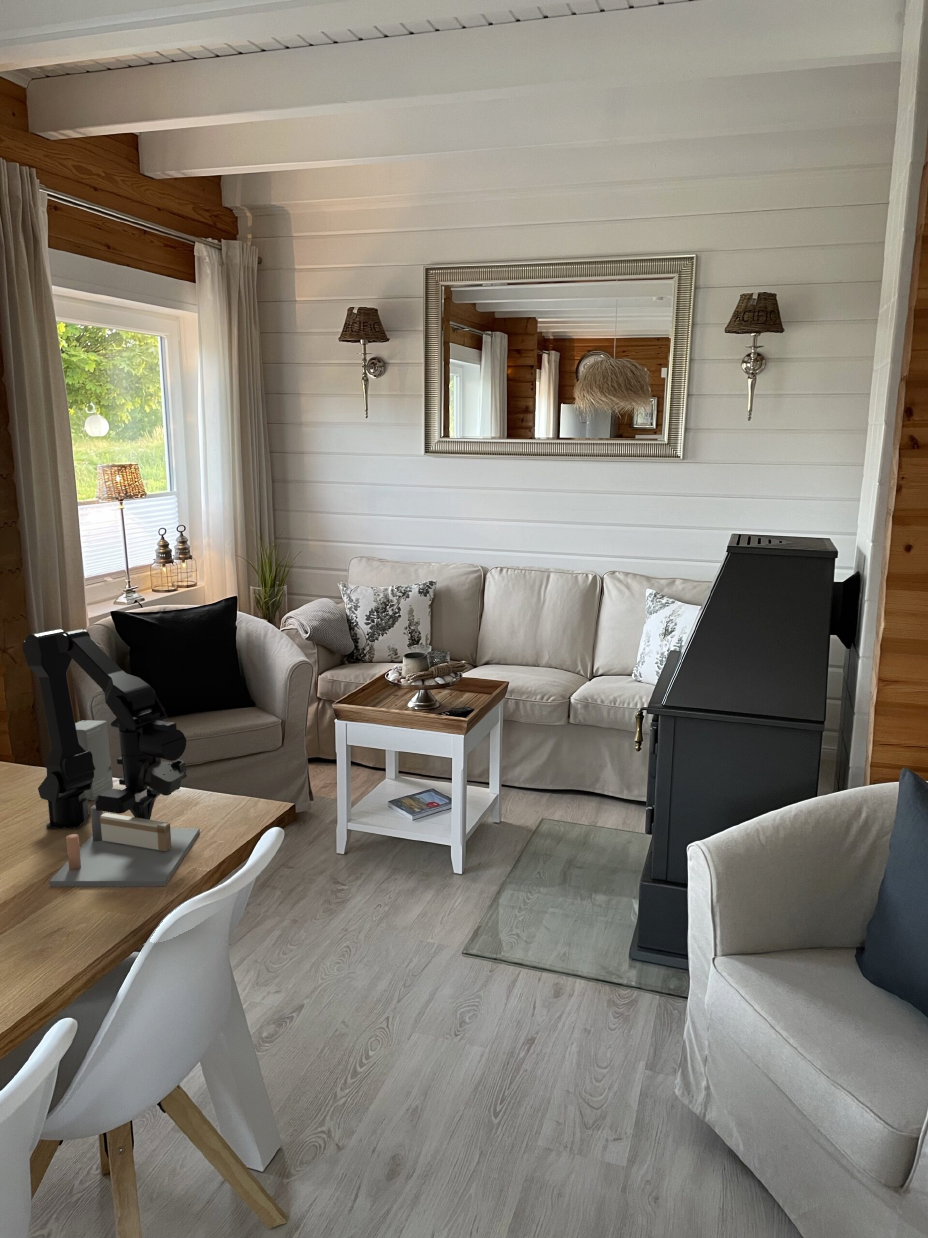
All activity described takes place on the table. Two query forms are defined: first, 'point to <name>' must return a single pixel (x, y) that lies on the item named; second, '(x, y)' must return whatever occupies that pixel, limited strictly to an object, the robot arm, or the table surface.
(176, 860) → the board
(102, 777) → the skincare box
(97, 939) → the table surface
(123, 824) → the gate
